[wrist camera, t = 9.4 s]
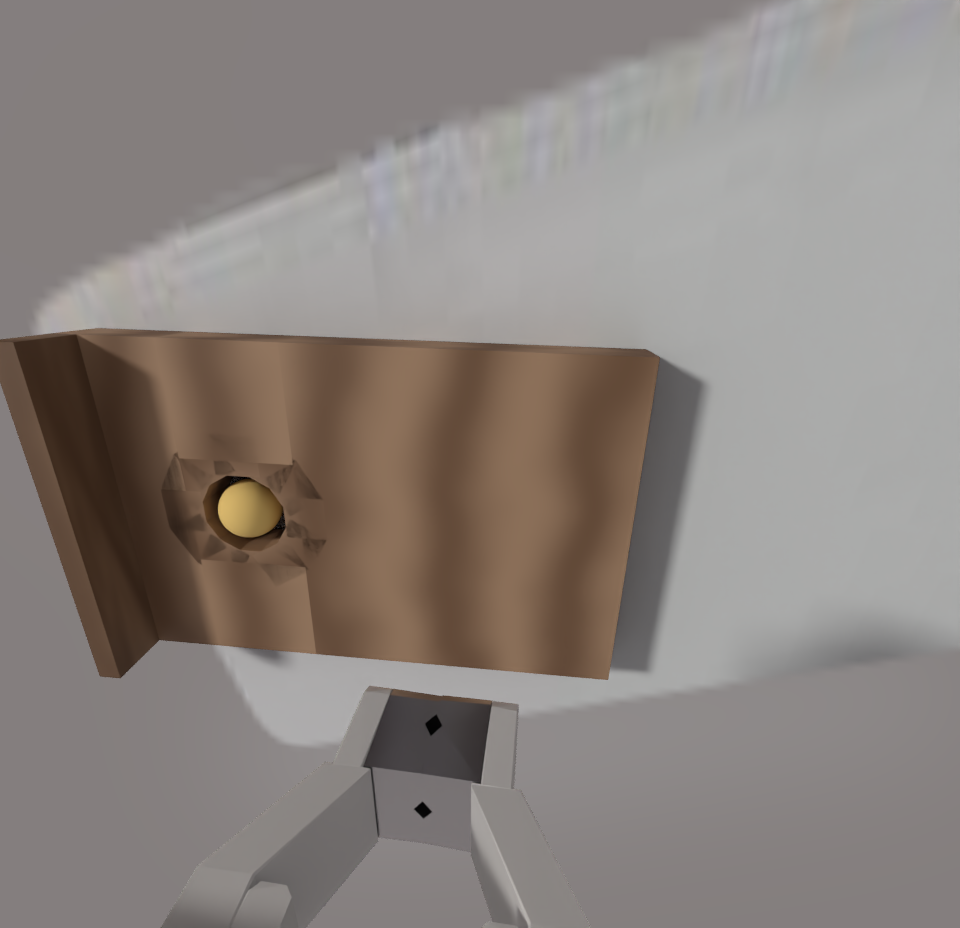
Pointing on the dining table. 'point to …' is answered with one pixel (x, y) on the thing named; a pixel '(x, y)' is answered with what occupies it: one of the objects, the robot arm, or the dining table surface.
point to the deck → (339, 492)
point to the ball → (249, 508)
